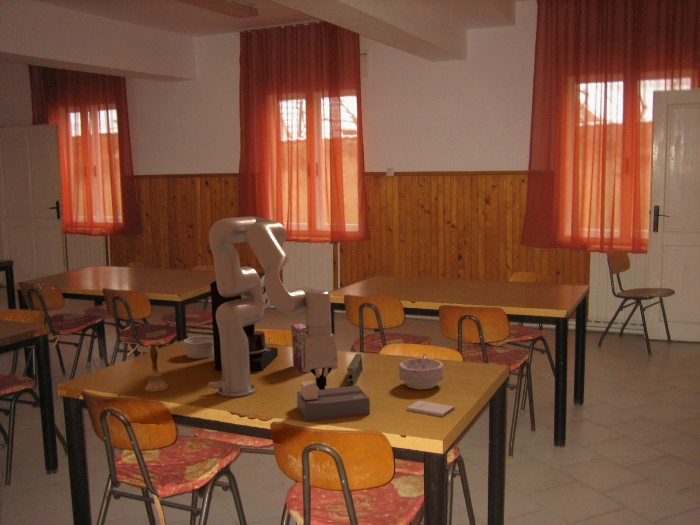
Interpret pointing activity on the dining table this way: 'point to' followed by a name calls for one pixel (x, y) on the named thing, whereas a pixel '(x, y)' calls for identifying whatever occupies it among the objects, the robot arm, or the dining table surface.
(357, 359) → the handheld radio
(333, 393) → the switch panel
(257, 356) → the coffee maker
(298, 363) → the candy bar box
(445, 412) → the external hard drive
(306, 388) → the knob
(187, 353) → the ramekin
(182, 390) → the dining table surface
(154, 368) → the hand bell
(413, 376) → the pale lavender bowl
